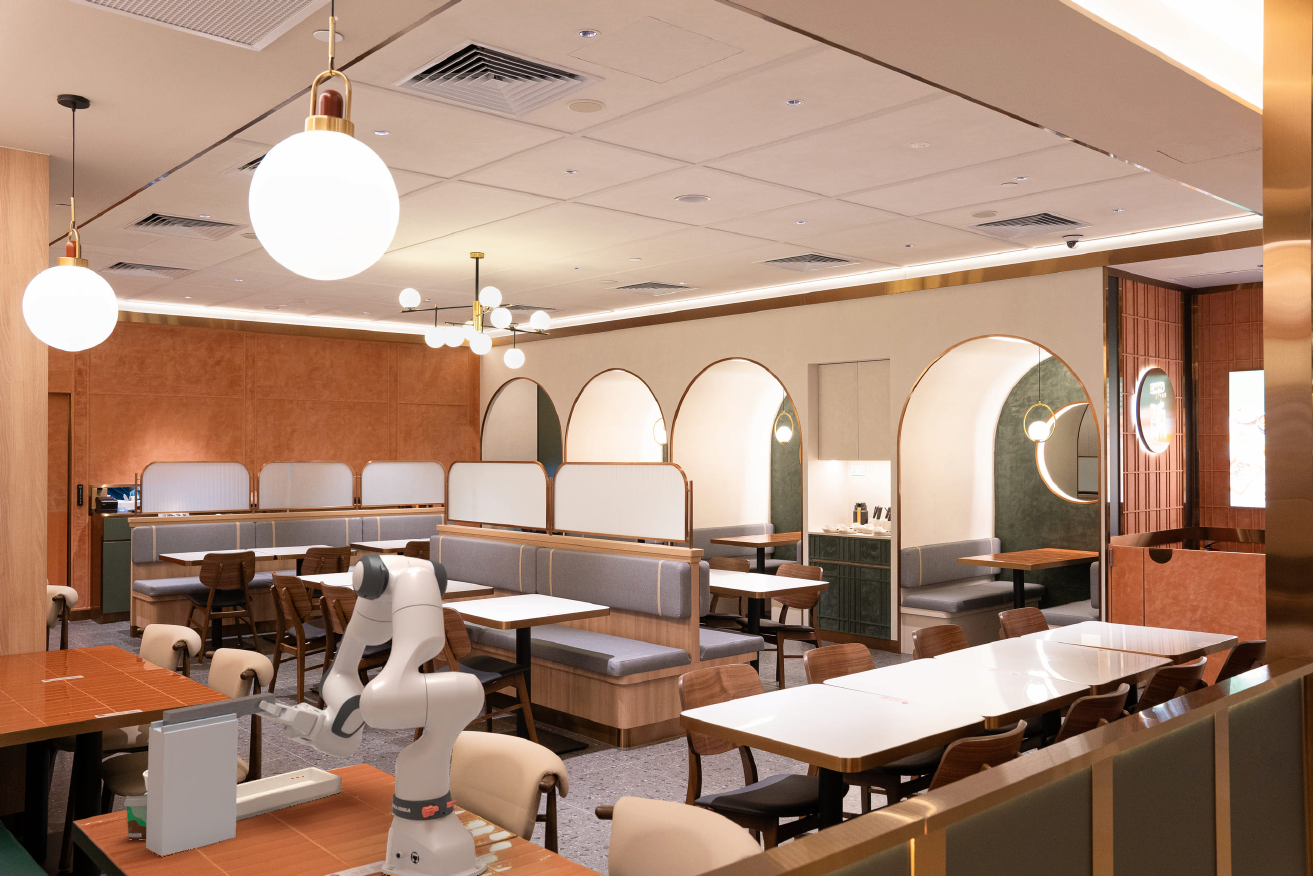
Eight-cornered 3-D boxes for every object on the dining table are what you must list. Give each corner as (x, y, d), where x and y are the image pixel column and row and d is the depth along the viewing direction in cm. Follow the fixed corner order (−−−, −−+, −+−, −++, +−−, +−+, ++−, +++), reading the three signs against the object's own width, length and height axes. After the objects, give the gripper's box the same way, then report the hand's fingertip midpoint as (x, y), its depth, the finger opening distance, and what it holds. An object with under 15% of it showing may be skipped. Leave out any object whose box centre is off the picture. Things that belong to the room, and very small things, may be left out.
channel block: (235, 837, 218) (238, 714, 219) (161, 857, 206) (164, 728, 207) (219, 828, 223) (221, 709, 224) (145, 848, 211) (149, 721, 212)
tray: (341, 793, 249) (341, 777, 249) (221, 825, 225) (221, 807, 226) (312, 782, 258) (313, 766, 258) (194, 811, 234) (195, 794, 235)
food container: (144, 846, 212) (145, 799, 213) (122, 842, 214) (124, 796, 215) (188, 827, 224) (189, 783, 224) (167, 824, 226) (168, 780, 226)
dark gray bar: (275, 709, 228) (275, 694, 228) (169, 730, 210) (170, 713, 210) (268, 707, 230) (268, 692, 230) (162, 727, 212) (163, 711, 212)
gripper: (286, 703, 243) (239, 683, 234) (330, 716, 229) (282, 695, 221) (273, 728, 240) (226, 708, 231) (317, 742, 227) (269, 722, 218)
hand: (254, 702), depth 226 cm, fingers closed on dark gray bar, 3 cm apart
